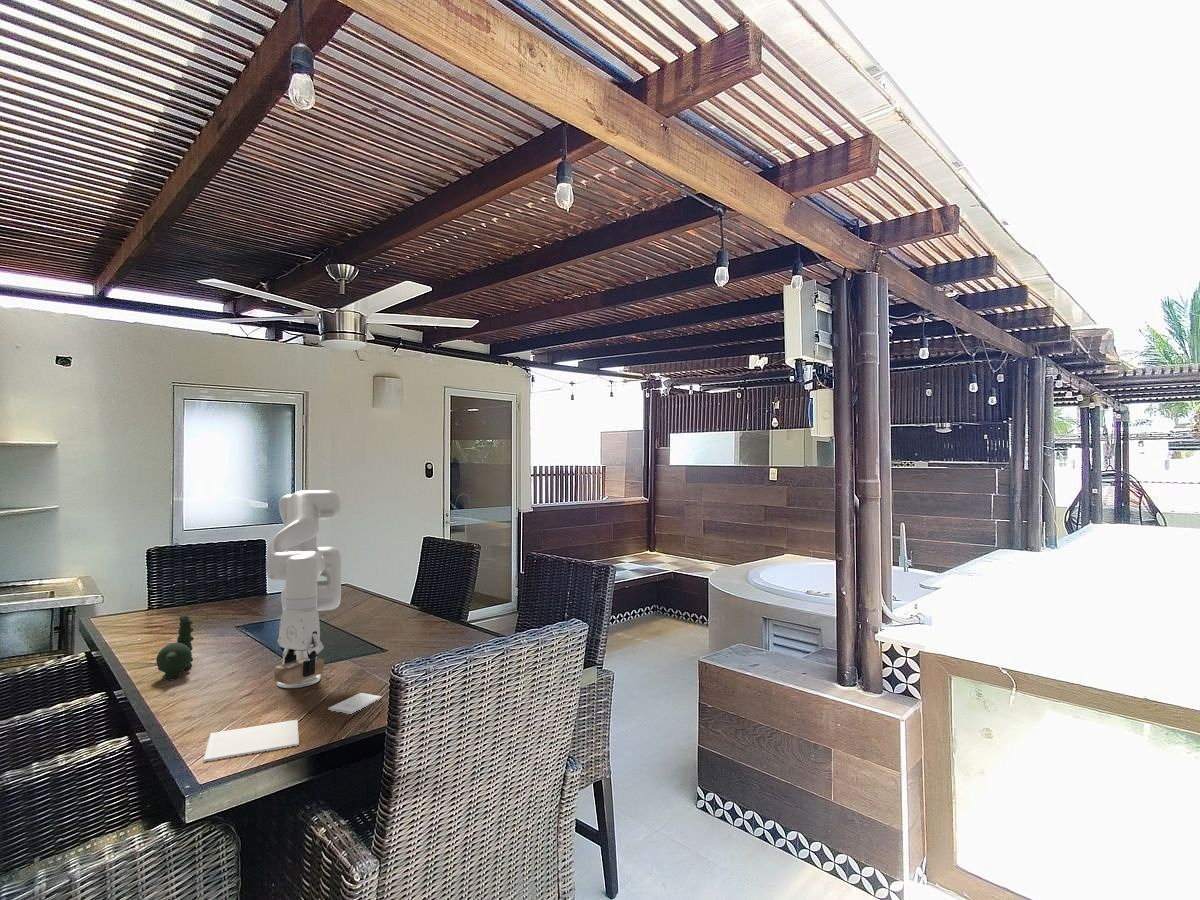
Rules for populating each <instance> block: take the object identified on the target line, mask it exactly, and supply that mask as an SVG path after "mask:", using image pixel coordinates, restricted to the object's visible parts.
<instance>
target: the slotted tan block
mask: <svg viewBox="0 0 1200 900" xmlns="http://www.w3.org/2000/svg"><path fill="white" fill-rule="evenodd" d="M303 661H306V660H305V657H304V658H301V659H298V660H295V661H292V662H289V663H286V664H283V663H282V664H280V665H277V666H275V667H274V675H273V676H274V680H273V681H274V682H276V683H277V682H281V683H286V684H290V685H292V684H295V683H297V682H300V681H303V680H305V679H308V678H311V677H313V676H316V675H319V674H320V675H321V674H324V672H325V671H324V669H325V668H324V665H325V659H324V658H318V657H317V658H316V659H315V673H314V674H313V675H310V676H307V677H304V676H303Z"/></svg>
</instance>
